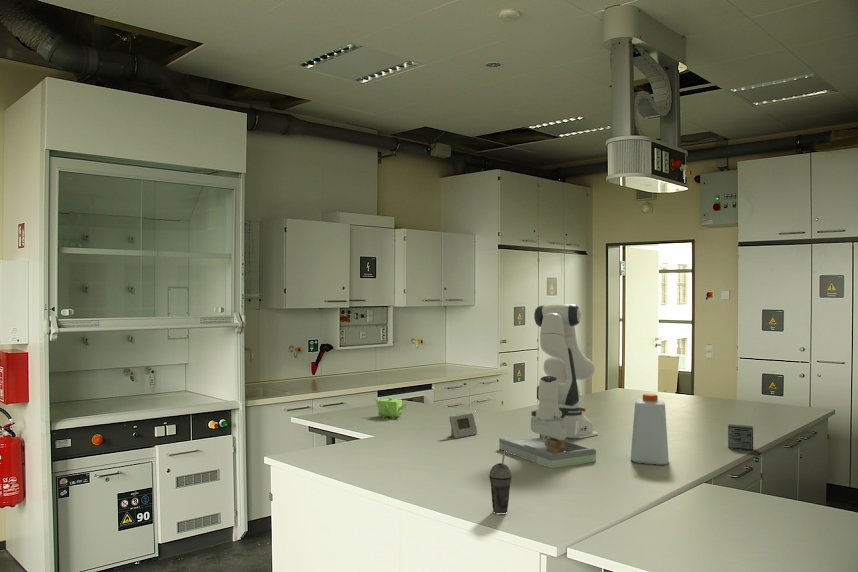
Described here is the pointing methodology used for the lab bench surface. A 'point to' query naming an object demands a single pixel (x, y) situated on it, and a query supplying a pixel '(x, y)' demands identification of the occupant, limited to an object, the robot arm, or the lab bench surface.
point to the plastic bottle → (649, 431)
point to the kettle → (390, 407)
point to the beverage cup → (500, 486)
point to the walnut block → (555, 445)
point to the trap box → (539, 453)
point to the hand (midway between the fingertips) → (548, 446)
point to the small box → (740, 437)
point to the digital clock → (462, 425)
